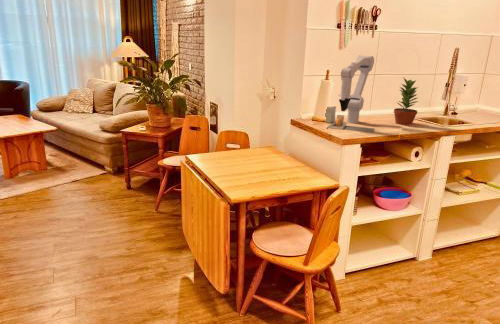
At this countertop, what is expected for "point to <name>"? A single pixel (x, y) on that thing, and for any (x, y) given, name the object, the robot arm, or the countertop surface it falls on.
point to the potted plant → (406, 105)
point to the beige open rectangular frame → (340, 123)
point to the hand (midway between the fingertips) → (343, 110)
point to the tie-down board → (357, 128)
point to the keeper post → (338, 122)
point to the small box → (330, 114)
